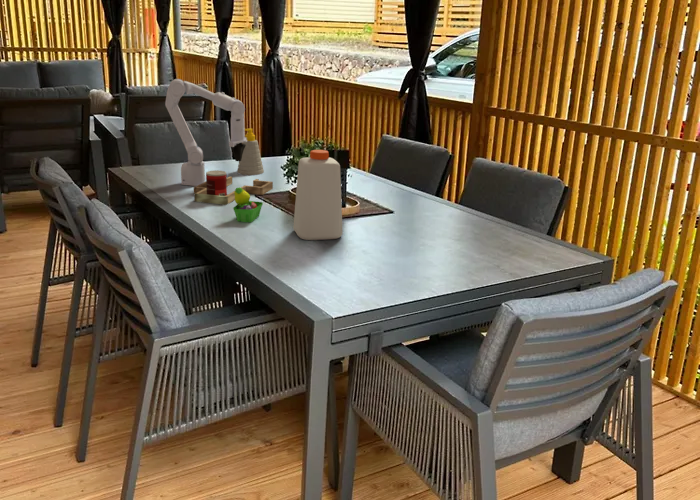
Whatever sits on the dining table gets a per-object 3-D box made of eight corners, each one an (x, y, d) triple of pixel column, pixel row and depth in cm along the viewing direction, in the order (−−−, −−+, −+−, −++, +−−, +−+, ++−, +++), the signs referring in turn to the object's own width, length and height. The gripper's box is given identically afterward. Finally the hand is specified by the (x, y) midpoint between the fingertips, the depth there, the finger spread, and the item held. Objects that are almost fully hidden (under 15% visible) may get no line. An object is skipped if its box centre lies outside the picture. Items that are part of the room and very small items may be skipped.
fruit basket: (253, 224, 231) (252, 192, 227) (229, 221, 232) (228, 190, 229) (263, 215, 241) (263, 185, 238) (240, 213, 243) (240, 183, 239)
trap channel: (182, 200, 258) (182, 192, 257) (218, 182, 289) (218, 175, 288) (244, 206, 252) (244, 198, 251) (274, 187, 284) (274, 180, 283)
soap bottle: (234, 170, 314) (233, 127, 308) (259, 169, 319) (259, 126, 313) (241, 175, 303) (240, 131, 297) (267, 174, 308) (267, 130, 302)
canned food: (228, 198, 264) (228, 170, 260) (224, 202, 256) (223, 175, 253) (209, 197, 264) (209, 169, 261) (204, 201, 257) (203, 174, 253)
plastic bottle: (299, 241, 214) (301, 155, 205) (291, 228, 227) (292, 147, 218) (345, 239, 218) (348, 155, 209) (333, 226, 231) (336, 146, 222)
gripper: (239, 132, 273) (240, 164, 277) (252, 127, 287) (253, 158, 291) (223, 131, 275) (224, 163, 279) (237, 126, 288) (238, 157, 292)
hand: (238, 161), depth 285 cm, fingers closed
